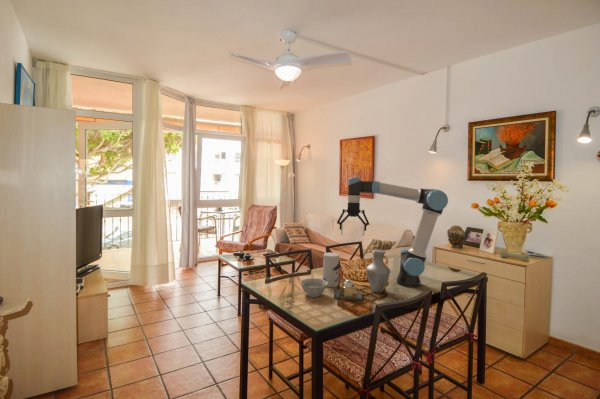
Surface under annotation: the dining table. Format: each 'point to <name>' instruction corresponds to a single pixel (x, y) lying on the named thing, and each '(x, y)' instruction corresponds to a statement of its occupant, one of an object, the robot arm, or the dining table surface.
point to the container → (331, 269)
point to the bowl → (313, 286)
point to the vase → (377, 271)
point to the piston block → (337, 296)
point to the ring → (348, 290)
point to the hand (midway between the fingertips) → (352, 235)
